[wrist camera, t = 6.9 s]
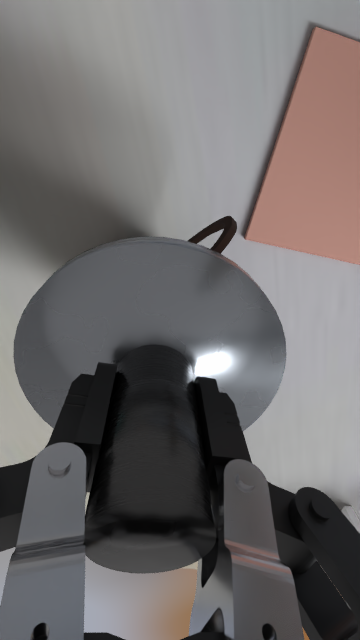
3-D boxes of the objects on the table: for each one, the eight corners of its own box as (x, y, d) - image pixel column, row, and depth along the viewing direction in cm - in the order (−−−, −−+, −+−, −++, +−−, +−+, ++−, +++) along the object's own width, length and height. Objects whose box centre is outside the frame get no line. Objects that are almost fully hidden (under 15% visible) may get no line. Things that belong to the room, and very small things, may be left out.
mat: (484, 90, 18) (490, 89, 18) (380, 268, 24) (384, 270, 24) (312, 29, 17) (315, 26, 16) (244, 238, 22) (245, 239, 22)
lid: (321, 270, 11) (507, 405, 5) (233, 452, 16) (275, 626, 10) (19, 204, 10) (-228, 293, 3) (27, 431, 15) (-67, 626, 9)
